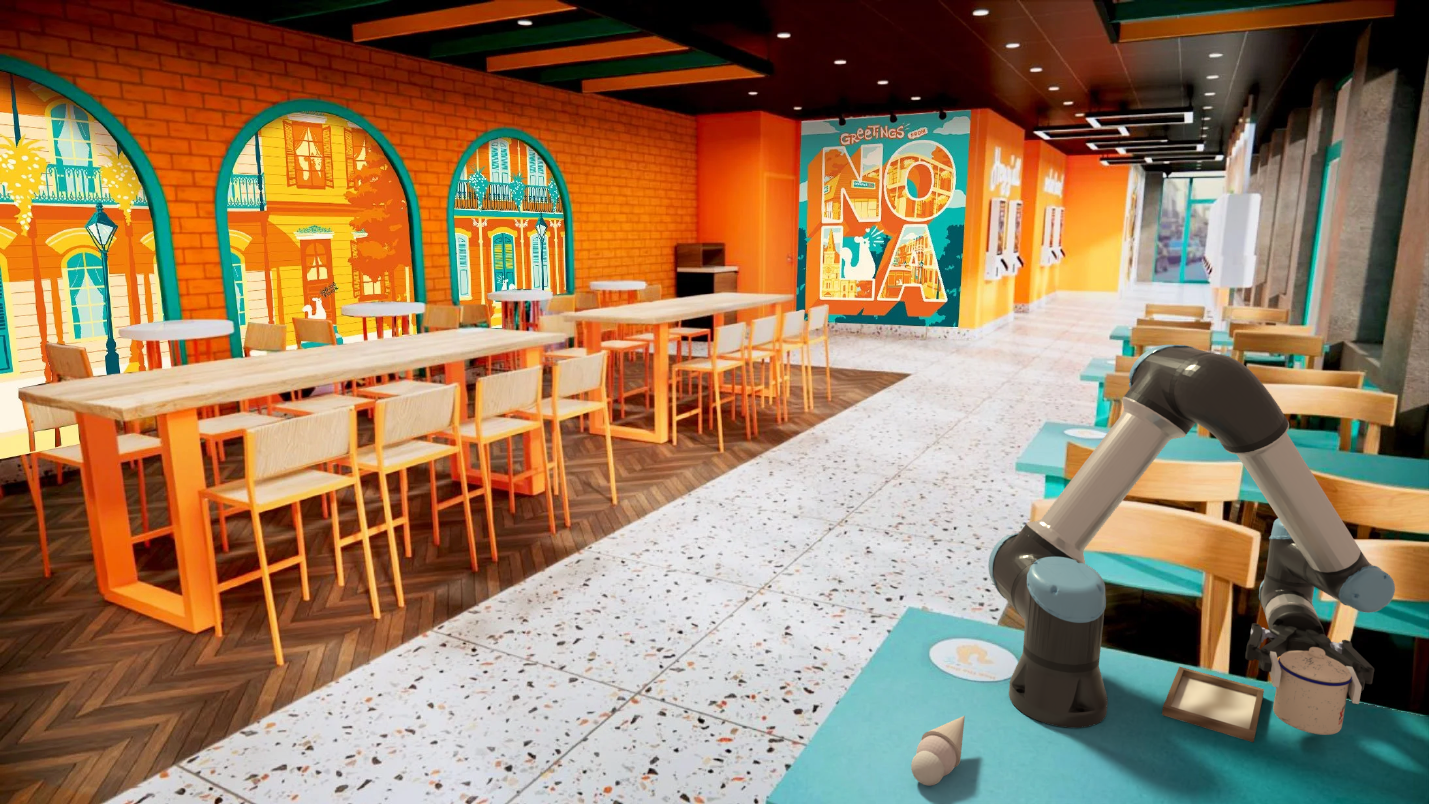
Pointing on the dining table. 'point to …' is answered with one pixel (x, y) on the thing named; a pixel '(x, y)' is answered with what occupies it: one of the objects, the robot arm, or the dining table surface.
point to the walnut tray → (1214, 703)
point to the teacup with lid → (1312, 691)
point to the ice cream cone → (938, 752)
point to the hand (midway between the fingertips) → (1316, 686)
